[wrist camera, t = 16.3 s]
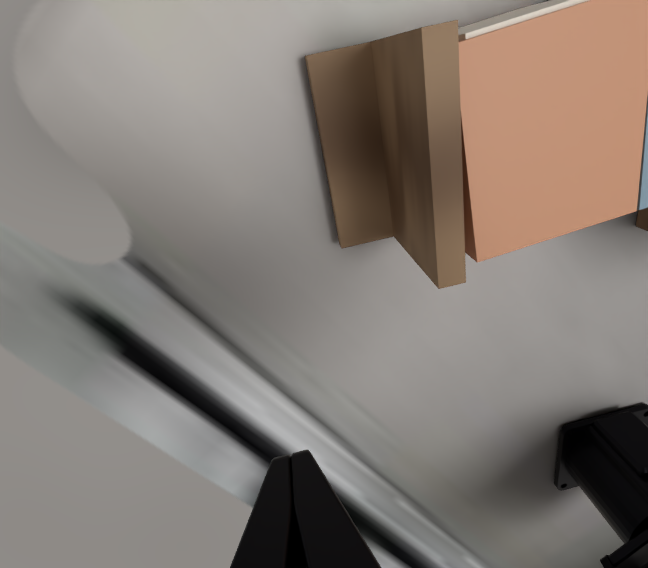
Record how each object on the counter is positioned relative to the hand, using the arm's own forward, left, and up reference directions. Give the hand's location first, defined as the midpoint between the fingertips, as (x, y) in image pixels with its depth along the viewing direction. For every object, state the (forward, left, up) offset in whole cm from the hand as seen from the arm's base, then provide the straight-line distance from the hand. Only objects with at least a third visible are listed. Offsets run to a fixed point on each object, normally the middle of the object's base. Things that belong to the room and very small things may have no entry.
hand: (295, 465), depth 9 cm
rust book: (+4, -10, -12) cm, 16 cm away
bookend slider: (+4, -5, -12) cm, 13 cm away
